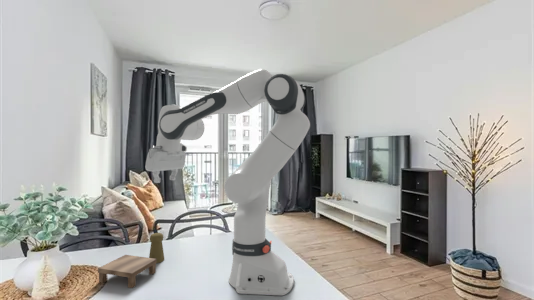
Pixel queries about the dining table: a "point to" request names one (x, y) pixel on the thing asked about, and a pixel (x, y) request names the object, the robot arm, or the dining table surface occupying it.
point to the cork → (156, 247)
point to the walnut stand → (127, 268)
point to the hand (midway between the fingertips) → (164, 181)
